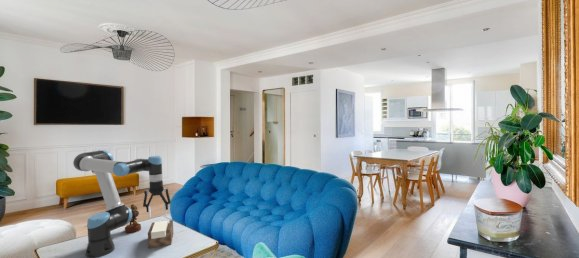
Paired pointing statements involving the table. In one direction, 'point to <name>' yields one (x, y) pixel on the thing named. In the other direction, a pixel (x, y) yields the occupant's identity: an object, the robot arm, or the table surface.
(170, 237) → the brown channel-shaped piece
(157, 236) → the thick cream rectangular block
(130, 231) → the music box
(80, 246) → the table surface
